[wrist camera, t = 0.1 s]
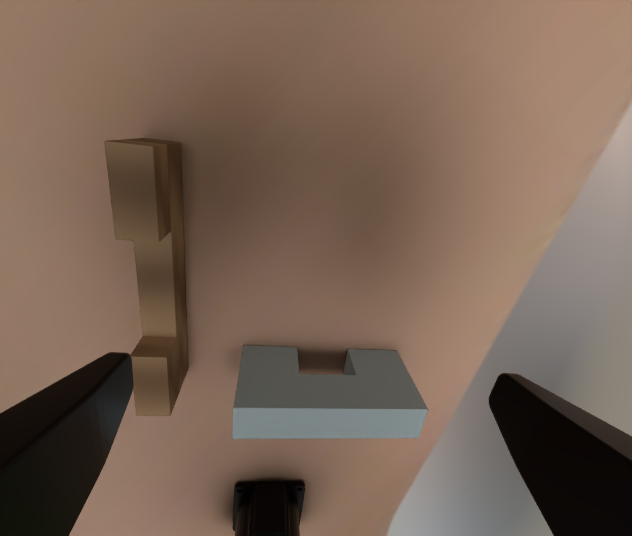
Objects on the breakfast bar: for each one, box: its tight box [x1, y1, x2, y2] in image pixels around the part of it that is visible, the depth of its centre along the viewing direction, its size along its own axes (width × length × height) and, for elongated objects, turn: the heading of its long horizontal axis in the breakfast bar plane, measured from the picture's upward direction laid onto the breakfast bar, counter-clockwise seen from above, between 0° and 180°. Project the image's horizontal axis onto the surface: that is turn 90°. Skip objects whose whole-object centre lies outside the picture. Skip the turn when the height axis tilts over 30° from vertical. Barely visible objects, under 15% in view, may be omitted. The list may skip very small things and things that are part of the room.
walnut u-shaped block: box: [104, 138, 188, 416], centre depth 19 cm, size 16×2×4 cm, turn 173°
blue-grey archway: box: [232, 345, 428, 439], centre depth 23 cm, size 2×12×6 cm, turn 83°
